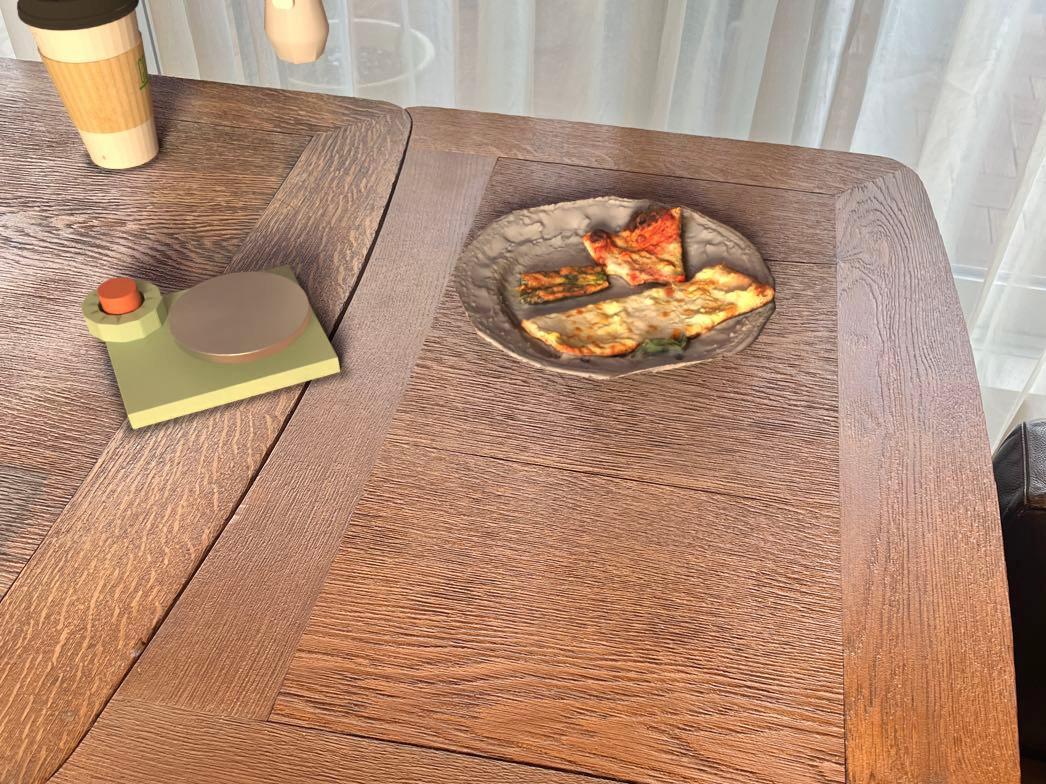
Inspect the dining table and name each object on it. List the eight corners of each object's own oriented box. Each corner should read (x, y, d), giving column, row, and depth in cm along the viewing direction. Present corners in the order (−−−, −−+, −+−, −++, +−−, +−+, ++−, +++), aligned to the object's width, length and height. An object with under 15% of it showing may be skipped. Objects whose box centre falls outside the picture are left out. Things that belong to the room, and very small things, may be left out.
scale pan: (187, 379, 71) (184, 370, 70) (158, 300, 77) (155, 291, 76) (328, 341, 73) (326, 332, 73) (289, 268, 79) (287, 259, 79)
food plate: (700, 200, 92) (705, 163, 89) (825, 358, 77) (835, 320, 74) (426, 247, 87) (423, 209, 84) (505, 426, 72) (504, 387, 69)
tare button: (106, 320, 75) (100, 303, 74) (100, 300, 77) (93, 282, 76) (145, 311, 76) (139, 293, 75) (138, 290, 78) (132, 273, 77)
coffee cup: (195, 131, 100) (151, -36, 88) (152, 183, 93) (99, 10, 82) (100, 122, 101) (45, -44, 89) (51, 173, 94) (-15, 1, 83)
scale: (121, 433, 71) (107, 400, 69) (88, 322, 80) (75, 290, 77) (340, 372, 76) (334, 339, 74) (288, 273, 84) (281, 241, 82)
